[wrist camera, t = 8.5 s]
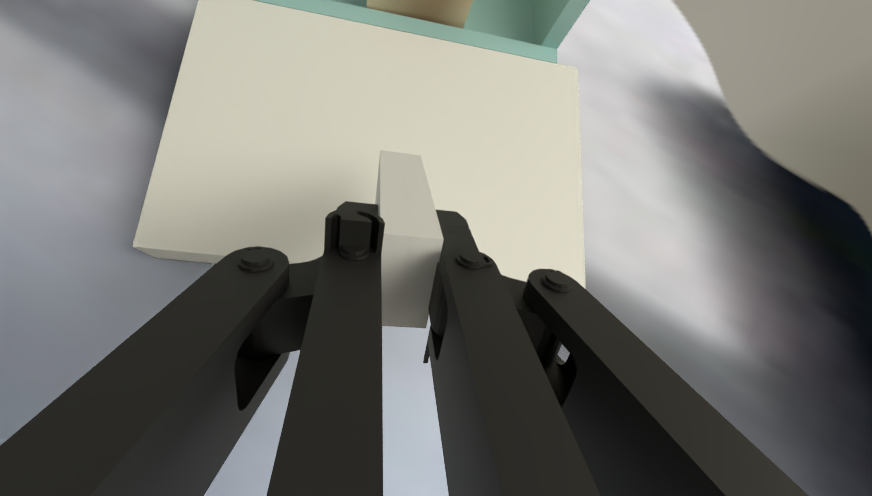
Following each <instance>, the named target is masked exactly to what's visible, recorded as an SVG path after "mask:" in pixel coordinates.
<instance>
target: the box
mask: <svg viewBox="0 0 872 496" xmlns="http://www.w3.org/2000/svg"><path fill="white" fill-rule="evenodd" d="M254 1H258V2H263V3H268V4H273V5H278V6H282V7H287V8H292V9H297V10H302V11H306V12H311V13H316V14H321V15H326V16H330V17H335V18H340V19H345V20H350V21H354V22H359V23H364V24H369V25H374V26H378V27H383V28H388V29H393V30H398V31H402V32H407V33H412V34H417V35H422V36H426V37H431V38H436V39H441V40H446V41H450V42H455V43H460V44H465V45H470V46H474V47H479V48H484V49H489V50H494V51H498V52H503V53H508V54H513V55H518V56H522V57H527V58H532V59H537V60H542V61H546V62H551V63H556V64H557V48H558V47H559V45H560V44H561V42H562V41H563V39H564V38H565V36H566V35H567V33H568V32H569V30H570V29H571V28H572V26H573V25H574V23H575V22H576V20H577V19H578V17H579V16H580V14H581V13H582V11H583V10H584V8H585V7H586V5H587V4H588V2H589V1H590V0H473V2H472V5H471V8H470V11H469V14H468V16H467V19H466V22H465V25H464V28H463V29H462V28H457V27H453V26H448V25H443V24H439V23H434V22H429V21H425V20H420V19H416V18H411V17H406V16H402V15H397V14H392V13H388V12H383V11H378V10H374V9H369V8H366V7H367V0H254Z"/></svg>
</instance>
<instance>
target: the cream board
mask: <svg viewBox="0 0 872 496" xmlns="http://www.w3.org/2000/svg"><path fill="white" fill-rule="evenodd" d="M380 150H383V151H391V152H399V153H406V154H414V155H421V159H422V162H423V166H424V170H425V173H426V177H427V181H428V184H429V188H430V191H431V195H432V199H433V202H434V206H435V209H436V210H445V211H455V212H458V213H459V214H460V215H461V216H463V217H464V218H465V219H466V221H467V223H468V226H469V229H470V231H471V233H472V236H473V238H474V240H475V243H476V245H477V248H478V250H479V252H482V253H484V254H486V255H487V256H489V257H490V258H492V259H493V260H494V262H495V263H496V265H497V267H498V269H499V271H500V273H501V275H504V276H507V277H510V278H513V279H517V280H521V281H525V282H527V279H528V276H529V273H531V272H532V271H533V270H536V269H554V270H555V271H556V270H558V271H561V272H562V273H564V274H566V275H568V276H570V277H571V278H573V279H574V280H576V281H577V282H578V283H579V284H580V285H581V286H582V287H584V288H585V261H584V233H583V205H582V176H581V148H580V120H579V91H578V68H575V67H570V66H566V65H561V64H556V63H551V62H546V61H542V60H537V59H532V58H527V57H522V56H518V55H513V54H508V53H503V52H498V51H494V50H489V49H484V48H479V47H474V46H470V45H465V44H460V43H455V42H450V41H446V40H441V39H436V38H431V37H426V36H422V35H417V34H412V33H407V32H402V31H398V30H393V29H388V28H383V27H378V26H374V25H369V24H364V23H359V22H354V21H350V20H345V19H340V18H335V17H330V16H326V15H321V14H316V13H311V12H306V11H302V10H297V9H292V8H287V7H282V6H278V5H273V4H268V3H263V2H258V1H254V0H198V4H197V8H196V11H195V15H194V19H193V22H192V26H191V30H190V34H189V37H188V41H187V45H186V48H185V52H184V56H183V60H182V63H181V67H180V71H179V74H178V78H177V82H176V86H175V89H174V93H173V97H172V100H171V104H170V108H169V112H168V115H167V119H166V123H165V126H164V130H163V134H162V138H161V141H160V145H159V149H158V152H157V156H156V160H155V164H154V167H153V171H152V175H151V178H150V182H149V186H148V190H147V193H146V197H145V201H144V204H143V208H142V212H141V215H140V219H139V223H138V227H137V230H136V234H135V238H134V241H133V245H132V247H134V248H136V249H138V250H140V251H142V252H144V253H146V254H148V255H150V256H152V257H154V258H164V259H174V260H184V261H194V262H204V263H215V264H217V263H218V262H219V261H220V260H221V259H223V258H224V257H225V256H226V255H228V254H230V253H232V252H233V251H236V250H239V249H243V248H246V247H252V246H253V247H255V246H261V247H268V248H273V249H276V250H279V251H281V252H282V253H284V254H285V255H286V256H287V257H288V260H289V264H293V263H302V262H308V261H311V260H314V259H317V258H319V257H321V256H322V255H323V252H324V238H325V218H326V216H327V215H328V214H329V213H330V212H333V211H335V210H337V207H338V206H340V205H341V204H343V203H344V202H345V201H349V202H359V203H368V204H375V198H376V189H377V179H378V169H379V160H380Z"/></svg>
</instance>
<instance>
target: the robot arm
mask: <svg viewBox="0 0 872 496" xmlns="http://www.w3.org/2000/svg"><path fill="white" fill-rule="evenodd" d="M428 315H429V316H430V322H431V326H430V331H429V336H428V341H427V345H426V350H425V355H424V361H423V363H428V358H429V356H430V361H431V368H432V376H433V383H434V390H435V397H436V405H437V412H438V419H439V426H440V434H441V441H442V448H443V456H444V463H445V470H446V477H447V485H448V492H449V496H809V495H807V494H806V493H805V492H804V491H803V490H802V489H801V488H800V487H799V486H798V485H797V484H796V483H794V482H793V481H792V480H791V479H790V478H789V477H788V476H787V475H786V474H785V473H784V472H783V471H782V470H780V469H779V468H778V467H777V466H776V465H775V464H774V463H773V462H772V461H771V460H770V459H769V458H767V457H766V456H765V455H764V454H763V453H762V452H761V451H760V450H759V449H758V448H757V447H756V446H754V445H753V444H752V443H751V442H750V441H749V440H748V439H747V438H746V437H745V436H744V435H743V434H741V433H740V432H739V431H738V430H737V429H736V428H735V427H734V426H733V425H732V424H731V423H730V422H729V421H727V420H726V419H725V418H724V417H723V416H722V415H721V414H720V413H719V412H718V411H717V410H716V409H714V408H713V407H712V406H711V405H710V404H709V403H708V402H707V401H706V400H705V399H704V398H703V397H701V396H700V395H699V394H698V393H697V392H696V391H695V390H694V389H693V388H692V387H691V386H690V385H688V384H687V383H686V382H685V381H684V380H683V379H682V378H681V377H680V376H679V375H678V374H677V373H675V372H674V371H673V370H672V369H671V368H670V367H669V366H668V365H667V364H666V363H665V362H664V361H663V360H661V359H660V358H659V357H658V356H657V355H656V354H655V353H654V352H653V351H652V350H651V349H650V348H648V347H647V346H646V345H645V344H644V343H643V342H642V341H641V340H640V339H639V338H638V337H637V336H635V335H634V334H633V333H632V332H631V331H630V330H629V329H628V328H627V327H626V326H625V325H624V324H622V323H621V322H620V321H619V320H618V319H617V318H616V317H615V316H614V315H613V314H612V313H611V312H610V311H608V310H607V309H606V308H605V307H604V306H603V305H602V304H601V303H600V302H599V301H598V300H597V299H595V298H594V297H593V296H592V295H591V294H590V293H589V292H588V291H587V290H586V289H585V288H584V287H582V286H581V285H580V284H579V283H578V282H577V281H576V280H574V279H573V278H571V277H570V276H568V275H566V274H564V273H562V272H561V271H558V270H556V271H555V270H554V269H536V270H533V271H532V272H531V273H529V276H528V279H527V282H525V281H521V280H517V279H513V278H510V277H507V276H504V275H501V273H500V271H499V269H498V267H497V265H496V263H495V262H494V260H493V259H492V258H490V257H489V256H487V255H486V254H484V253H482V252H479V250H478V248H477V245H476V243H475V240H474V238H473V236H472V233H471V231H470V229H469V226H468V223H467V221H466V219H465V218H464V217H463V216H461V215H460V214H459V213H458V212H455V211H445V210H436V209H435V206H434V202H433V199H432V195H431V191H430V188H429V184H428V181H427V177H426V173H425V170H424V166H423V162H422V159H421V155H414V154H406V153H399V152H391V151H383V150H380V160H379V169H378V179H377V189H376V198H375V204H368V203H359V202H349V201H345V202H344V203H343V204H341V205H340V206H338V207H337V210H335V211H333V212H330V213H329V214H328V215H327V216H326V218H325V238H324V252H323V255H322V256H321V257H319V258H317V259H314V260H311V261H308V262H302V263H293V264H289V260H288V257H287V256H286V255H285V254H284V253H282V252H281V251H279V250H276V249H273V248H268V247H261V246H255V247H253V246H252V247H246V248H243V249H239V250H236V251H233V252H232V253H230V254H228V255H226V256H225V257H224V258H223V259H221V260H220V261H219V262H218V263H217V264H215V265H214V266H213V267H212V268H211V269H209V270H208V271H207V272H206V273H205V274H204V275H202V276H201V277H200V278H199V279H198V280H196V281H195V282H194V283H193V284H192V285H191V286H189V287H188V288H187V289H186V290H185V291H183V292H182V293H181V294H180V295H179V296H177V297H176V298H175V299H174V300H173V301H172V302H170V303H169V304H168V305H167V306H166V307H164V308H163V309H162V310H161V311H160V312H159V313H157V314H156V315H155V316H154V317H153V318H151V319H150V320H149V321H148V322H147V323H145V324H144V325H143V326H142V327H141V328H140V329H138V330H137V331H136V332H135V333H134V334H132V335H131V336H130V337H129V338H128V339H126V340H125V341H124V342H123V343H122V344H121V345H119V346H118V347H117V348H116V349H115V350H113V351H112V352H111V353H110V354H109V355H108V356H106V357H105V358H104V359H103V360H102V361H100V362H99V363H98V364H97V365H96V366H94V367H93V368H92V369H91V370H90V371H89V372H87V373H86V374H85V375H84V376H83V377H81V378H80V379H79V380H78V381H77V382H76V383H74V384H73V385H72V386H71V387H70V388H68V389H67V390H66V391H65V392H64V393H62V394H61V395H60V396H59V397H58V398H57V399H55V400H54V401H53V402H52V403H51V404H49V405H48V406H47V407H46V408H45V409H43V410H42V411H41V412H40V413H39V414H38V415H36V416H35V417H34V418H33V419H32V420H30V421H29V422H28V423H27V424H26V425H25V426H23V427H22V428H21V429H20V430H19V431H17V432H16V433H15V434H14V435H13V436H11V437H10V438H9V439H8V440H7V441H6V442H4V443H3V444H2V445H1V446H0V496H204V494H205V493H206V491H207V489H208V488H209V486H210V485H211V483H212V481H213V480H214V478H215V476H216V475H217V473H218V472H219V470H220V468H221V467H222V465H223V464H224V462H225V460H226V459H227V457H228V456H229V454H230V452H231V451H232V449H233V447H234V446H235V444H236V443H237V441H238V439H239V438H240V436H241V435H242V433H243V431H244V430H245V428H246V426H247V425H248V423H249V422H250V420H251V418H252V417H253V415H254V414H255V412H256V410H257V409H258V407H259V405H260V404H261V402H262V401H263V399H264V397H265V396H266V394H267V393H268V391H269V389H270V388H271V386H272V385H273V383H274V381H275V380H276V378H277V376H278V375H279V373H280V372H281V370H282V368H283V367H284V365H285V364H286V362H287V360H288V357H289V354H290V352H292V351H297V350H301V351H300V355H299V359H298V364H297V368H296V372H295V376H294V381H293V385H292V389H291V394H290V398H289V402H288V407H287V411H286V415H285V419H284V424H283V428H282V432H281V437H280V441H279V445H278V449H277V454H276V458H275V462H274V467H273V471H272V475H271V479H270V484H269V488H268V492H267V496H383V429H382V326H396V327H415V328H426V325H427V320H428ZM562 344H563V345H564V347H565V348H566V349H567V350H568V351H569V352H570V355H569V357H568V359H567V361H566V362H564V361H563V360H562V359H561V358H560V357H559V356H558V355H557V354H558V352H559V350H560V347H561V345H562Z"/></svg>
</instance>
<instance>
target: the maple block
mask: <svg viewBox="0 0 872 496" xmlns="http://www.w3.org/2000/svg"><path fill="white" fill-rule="evenodd" d="M472 2H473V0H367V7H366V8H369V9H374V10H378V11H383V12H388V13H392V14H397V15H402V16H406V17H411V18H416V19H420V20H425V21H429V22H434V23H439V24H443V25H448V26H453V27H457V28H462V29H463V28H464V25H465V22H466V19H467V16H468V14H469V11H470V8H471V5H472Z"/></svg>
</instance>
